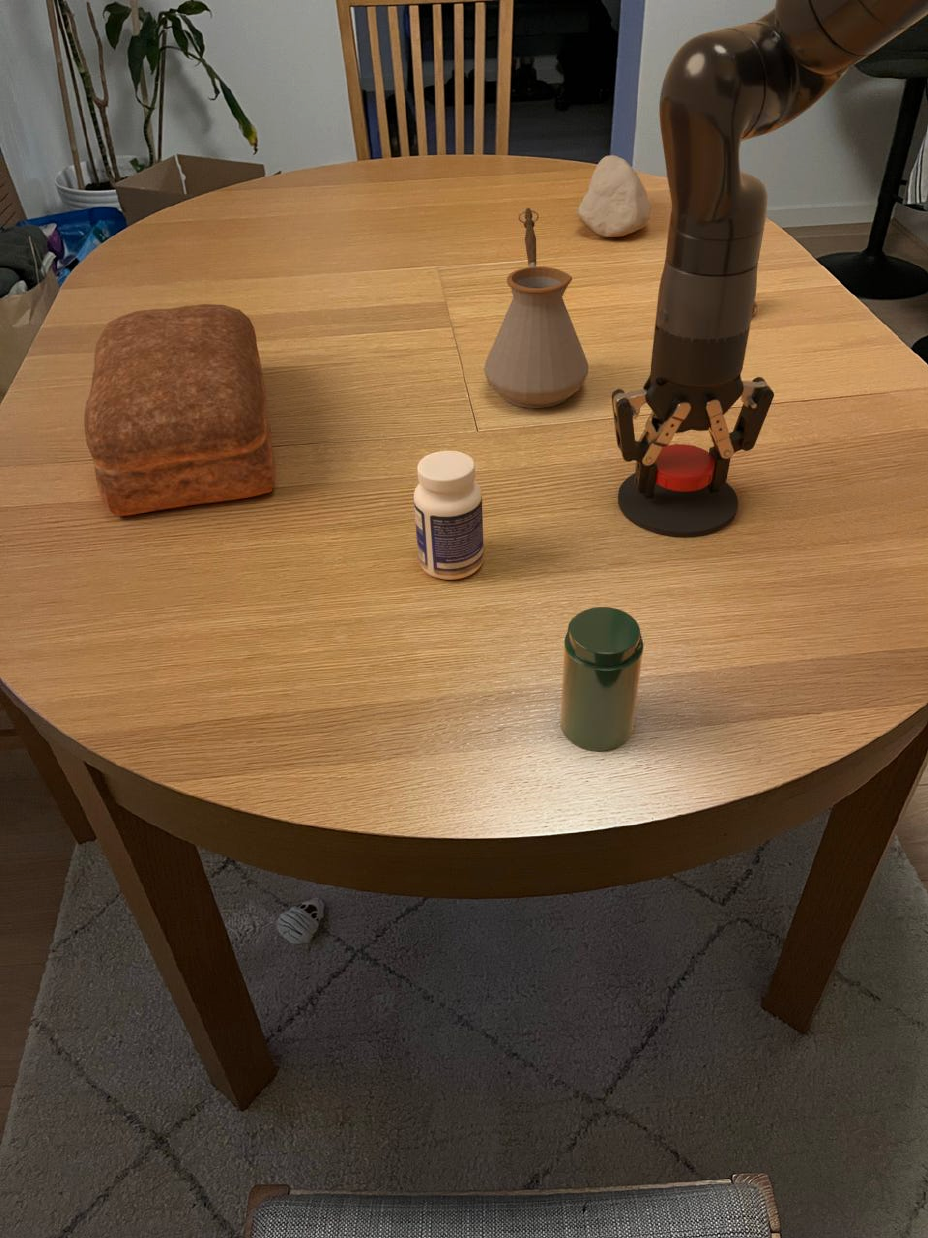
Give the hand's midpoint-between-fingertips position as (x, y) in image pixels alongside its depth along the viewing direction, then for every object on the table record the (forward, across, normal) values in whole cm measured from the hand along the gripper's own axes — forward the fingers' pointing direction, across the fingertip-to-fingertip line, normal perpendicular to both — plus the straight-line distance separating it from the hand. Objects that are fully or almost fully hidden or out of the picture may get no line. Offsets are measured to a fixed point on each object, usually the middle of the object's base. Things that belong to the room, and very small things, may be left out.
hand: (678, 490), depth 86 cm
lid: (-3, 0, 0) cm, 3 cm away
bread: (+1, +47, -20) cm, 51 cm away
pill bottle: (+2, +22, +6) cm, 23 cm away
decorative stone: (+1, -11, -75) cm, 75 cm away
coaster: (+1, 0, 0) cm, 1 cm away
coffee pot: (+1, +9, -28) cm, 30 cm away
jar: (+1, +13, +26) cm, 29 cm away
